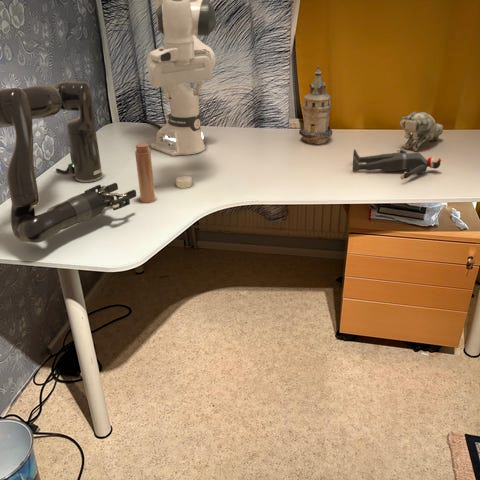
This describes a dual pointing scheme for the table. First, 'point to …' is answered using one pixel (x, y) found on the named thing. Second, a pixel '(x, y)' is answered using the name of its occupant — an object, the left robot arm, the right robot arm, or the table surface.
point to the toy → (396, 162)
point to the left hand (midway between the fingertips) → (126, 189)
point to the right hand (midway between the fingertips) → (182, 97)
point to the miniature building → (316, 112)
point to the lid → (183, 181)
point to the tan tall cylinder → (145, 172)
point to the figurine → (420, 129)
